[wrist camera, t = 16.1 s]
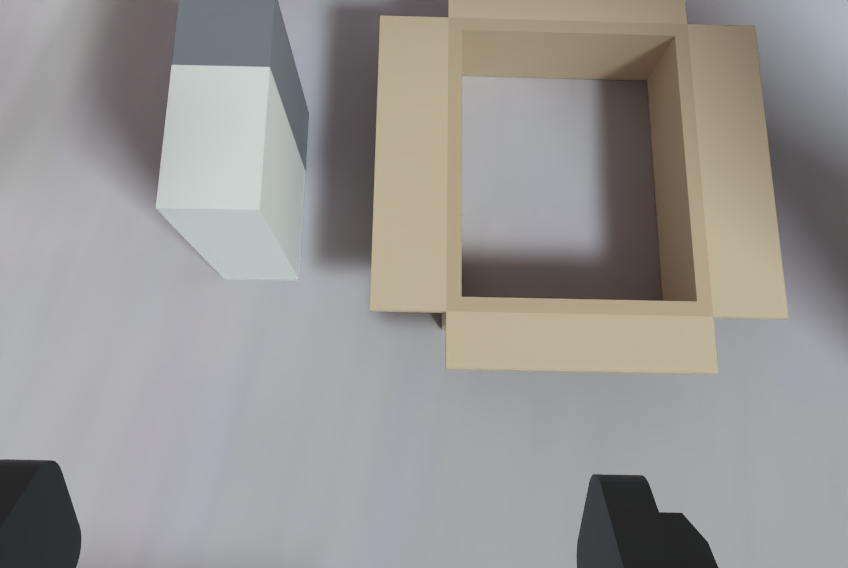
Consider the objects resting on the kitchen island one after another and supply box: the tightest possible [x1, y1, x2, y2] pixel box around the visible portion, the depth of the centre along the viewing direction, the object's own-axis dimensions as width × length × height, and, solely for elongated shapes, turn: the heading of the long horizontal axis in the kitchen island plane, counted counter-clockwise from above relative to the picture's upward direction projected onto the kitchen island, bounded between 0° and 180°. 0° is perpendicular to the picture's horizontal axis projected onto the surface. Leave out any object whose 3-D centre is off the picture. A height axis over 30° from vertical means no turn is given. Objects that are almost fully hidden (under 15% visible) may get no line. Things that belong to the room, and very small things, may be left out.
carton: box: [370, 0, 788, 374], centre depth 42 cm, size 22×24×5 cm
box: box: [156, 0, 309, 280], centre depth 38 cm, size 4×11×12 cm, turn 179°
